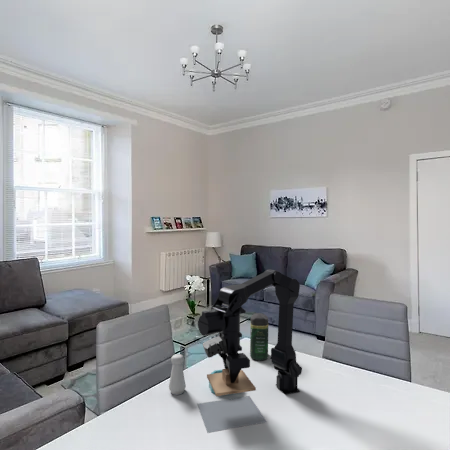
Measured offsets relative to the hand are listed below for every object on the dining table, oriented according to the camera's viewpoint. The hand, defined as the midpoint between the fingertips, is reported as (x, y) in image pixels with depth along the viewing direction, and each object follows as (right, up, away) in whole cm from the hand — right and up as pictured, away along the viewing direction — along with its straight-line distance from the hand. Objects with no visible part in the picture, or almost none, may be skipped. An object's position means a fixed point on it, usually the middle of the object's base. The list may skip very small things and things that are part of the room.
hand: (230, 379), depth 100 cm
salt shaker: (-18, -11, +13) cm, 25 cm away
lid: (0, -1, 0) cm, 1 cm away
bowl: (-2, -11, +15) cm, 19 cm away
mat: (0, -11, 0) cm, 11 cm away
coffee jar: (+13, -11, +44) cm, 47 cm away
